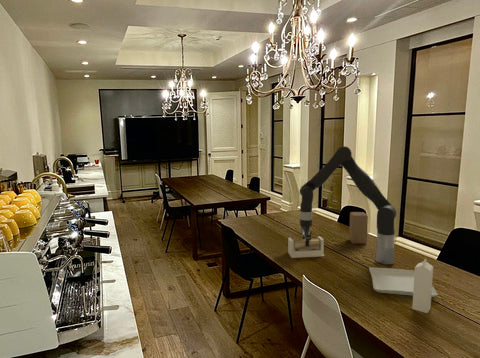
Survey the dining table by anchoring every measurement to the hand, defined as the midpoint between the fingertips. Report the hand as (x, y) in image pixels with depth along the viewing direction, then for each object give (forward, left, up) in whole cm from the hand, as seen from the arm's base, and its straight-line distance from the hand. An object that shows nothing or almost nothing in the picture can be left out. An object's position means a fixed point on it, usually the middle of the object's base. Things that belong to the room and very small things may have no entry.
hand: (305, 244), depth 214 cm
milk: (-70, -31, -7) cm, 77 cm away
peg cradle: (0, 0, -6) cm, 6 cm away
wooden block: (+18, -42, -7) cm, 46 cm away
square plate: (-48, -34, -7) cm, 59 cm away
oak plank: (0, 0, -2) cm, 2 cm away
